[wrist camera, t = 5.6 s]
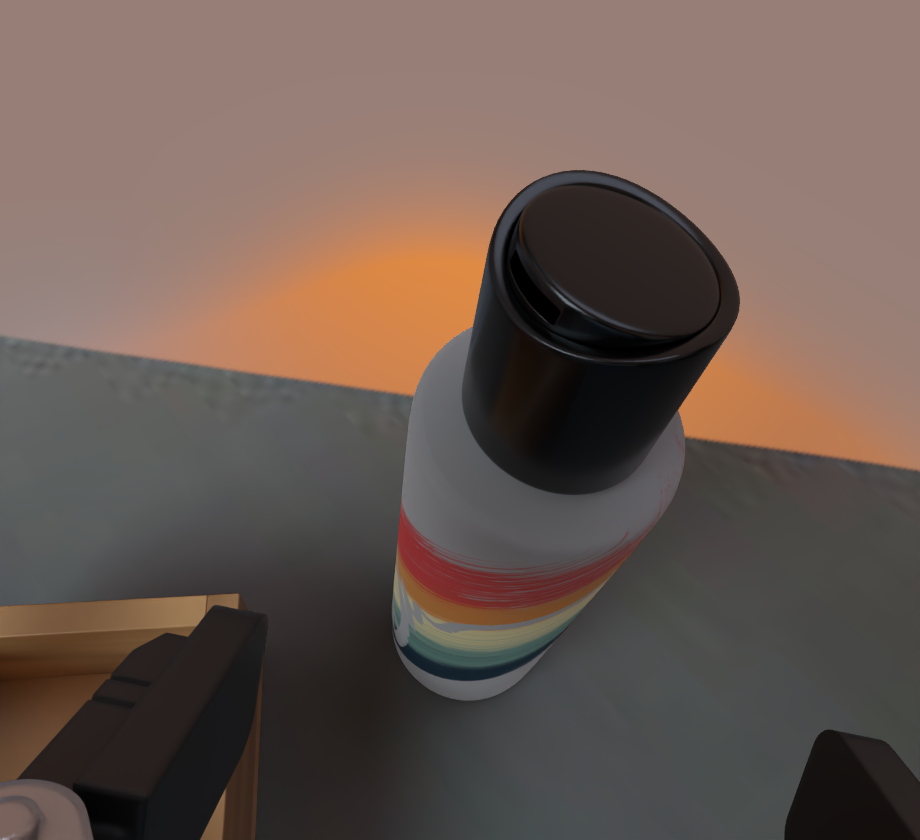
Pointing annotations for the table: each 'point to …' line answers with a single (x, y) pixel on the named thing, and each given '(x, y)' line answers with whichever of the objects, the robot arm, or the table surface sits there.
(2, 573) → the table surface
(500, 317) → the lotion bottle
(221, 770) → the robot arm
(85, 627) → the wooden organizer box
